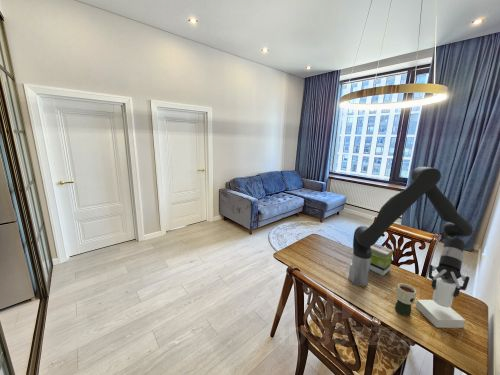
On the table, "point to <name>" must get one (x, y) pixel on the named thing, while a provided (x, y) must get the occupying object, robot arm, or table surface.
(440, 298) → the can
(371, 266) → the tea box
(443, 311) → the cream plinth
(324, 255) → the table surface
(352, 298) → the table surface
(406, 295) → the character mug
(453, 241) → the robot arm
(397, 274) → the table surface
